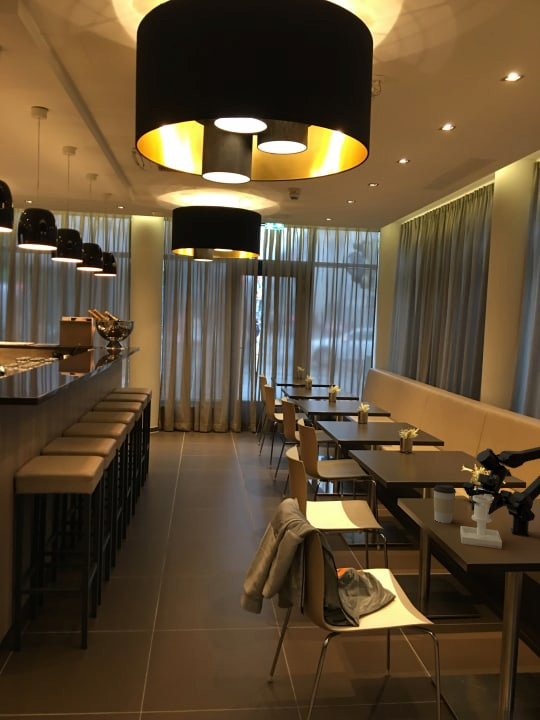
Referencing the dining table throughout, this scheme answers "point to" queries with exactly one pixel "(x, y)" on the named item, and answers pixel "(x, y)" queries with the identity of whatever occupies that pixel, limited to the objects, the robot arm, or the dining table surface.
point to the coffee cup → (444, 502)
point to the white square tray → (480, 537)
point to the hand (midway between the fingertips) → (480, 512)
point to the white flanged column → (482, 512)
